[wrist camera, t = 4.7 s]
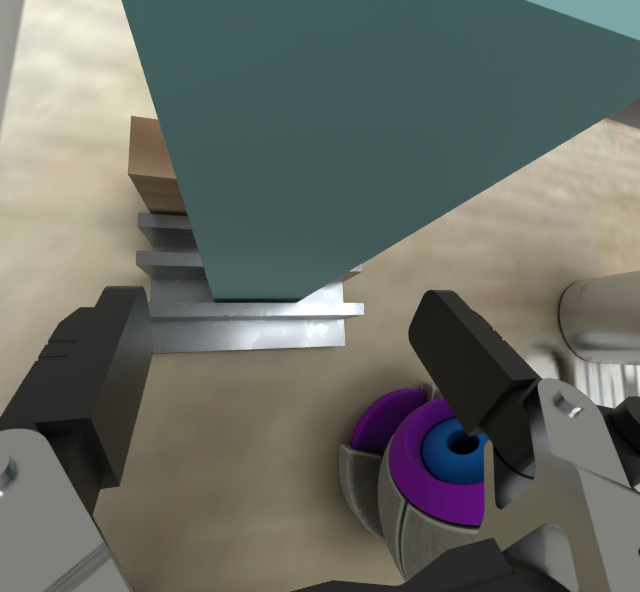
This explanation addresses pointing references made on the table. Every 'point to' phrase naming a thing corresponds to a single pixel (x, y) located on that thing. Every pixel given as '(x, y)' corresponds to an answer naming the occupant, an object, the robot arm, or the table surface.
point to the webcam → (415, 477)
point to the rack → (227, 318)
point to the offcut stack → (153, 168)
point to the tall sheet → (363, 117)
